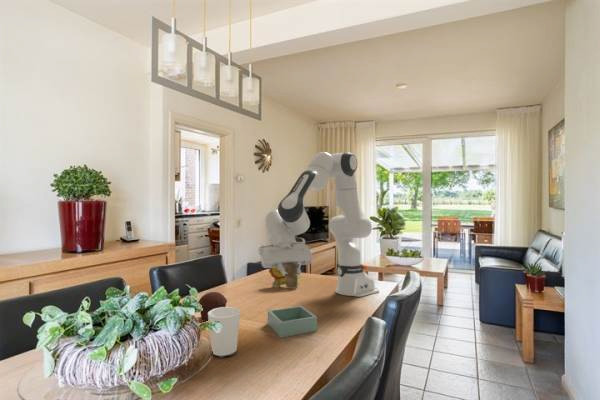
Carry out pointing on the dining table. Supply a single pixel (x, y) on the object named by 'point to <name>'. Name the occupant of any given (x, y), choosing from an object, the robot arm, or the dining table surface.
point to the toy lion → (279, 277)
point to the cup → (225, 330)
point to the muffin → (211, 303)
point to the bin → (292, 321)
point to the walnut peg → (291, 275)
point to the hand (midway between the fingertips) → (292, 274)
